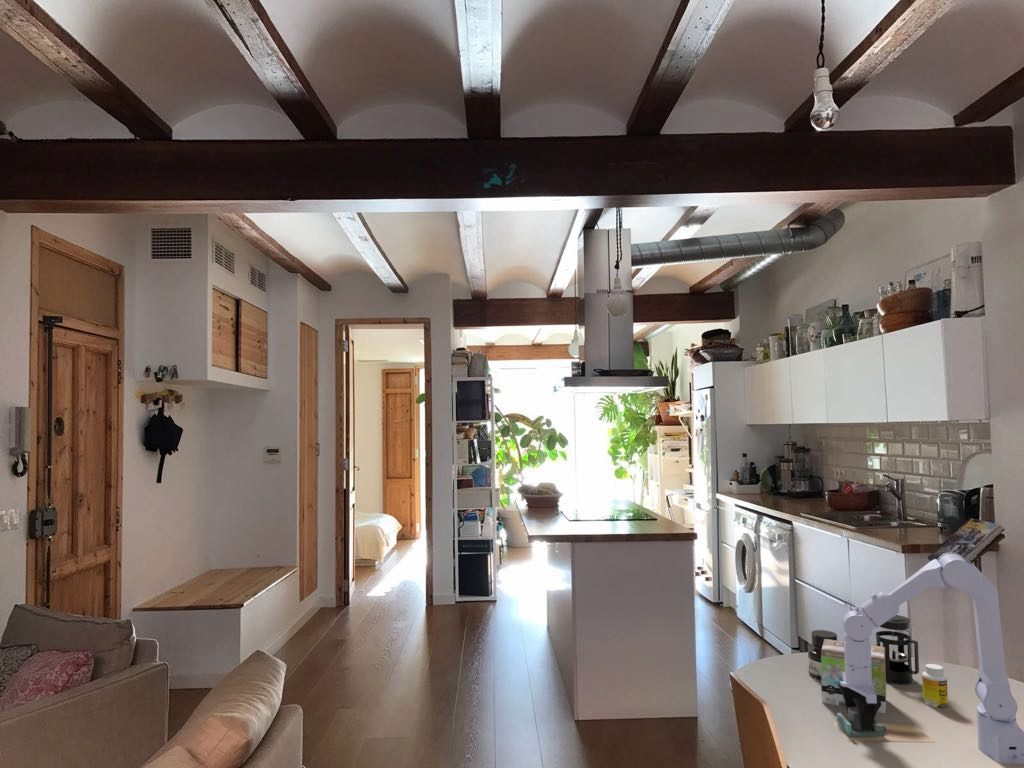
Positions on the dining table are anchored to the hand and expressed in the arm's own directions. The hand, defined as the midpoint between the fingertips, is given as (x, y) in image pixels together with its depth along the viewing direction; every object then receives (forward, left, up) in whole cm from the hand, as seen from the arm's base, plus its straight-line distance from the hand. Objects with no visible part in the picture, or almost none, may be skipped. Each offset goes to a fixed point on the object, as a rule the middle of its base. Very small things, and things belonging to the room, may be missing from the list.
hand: (859, 722), depth 170 cm
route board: (0, -5, -3) cm, 6 cm away
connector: (0, -2, -2) cm, 3 cm away
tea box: (+18, -6, -3) cm, 19 cm away
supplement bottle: (+17, -26, -3) cm, 31 cm away
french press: (+36, -25, -3) cm, 44 cm away
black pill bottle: (+38, -6, -3) cm, 39 cm away
